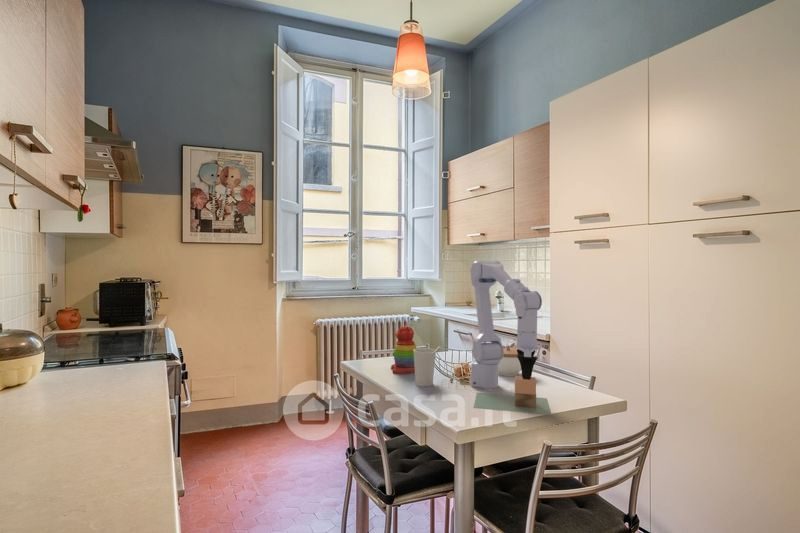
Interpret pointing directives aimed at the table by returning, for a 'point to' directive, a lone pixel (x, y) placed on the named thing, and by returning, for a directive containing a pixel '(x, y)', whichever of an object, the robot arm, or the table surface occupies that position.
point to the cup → (424, 366)
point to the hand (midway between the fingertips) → (526, 376)
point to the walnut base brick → (525, 400)
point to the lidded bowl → (509, 363)
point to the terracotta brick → (525, 385)
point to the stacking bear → (404, 351)
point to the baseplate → (509, 404)
